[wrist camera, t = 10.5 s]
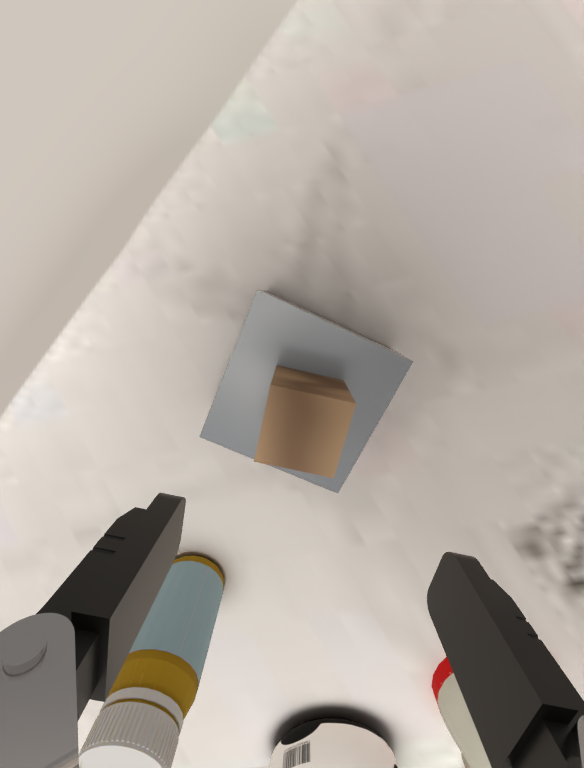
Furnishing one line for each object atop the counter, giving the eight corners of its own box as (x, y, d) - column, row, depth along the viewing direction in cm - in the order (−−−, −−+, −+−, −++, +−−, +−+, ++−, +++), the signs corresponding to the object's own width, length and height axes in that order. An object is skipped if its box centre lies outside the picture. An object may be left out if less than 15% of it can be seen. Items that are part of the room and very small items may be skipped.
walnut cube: (343, 380, 22) (356, 403, 17) (326, 441, 24) (333, 478, 19) (276, 365, 22) (270, 384, 17) (263, 427, 23) (254, 461, 19)
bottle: (236, 568, 34) (190, 764, 20) (209, 608, 36) (149, 817, 21) (179, 541, 33) (88, 726, 19) (155, 584, 35) (54, 784, 21)
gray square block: (389, 348, 27) (413, 361, 22) (330, 456, 31) (337, 493, 25) (266, 291, 26) (257, 289, 21) (219, 409, 30) (199, 436, 24)
